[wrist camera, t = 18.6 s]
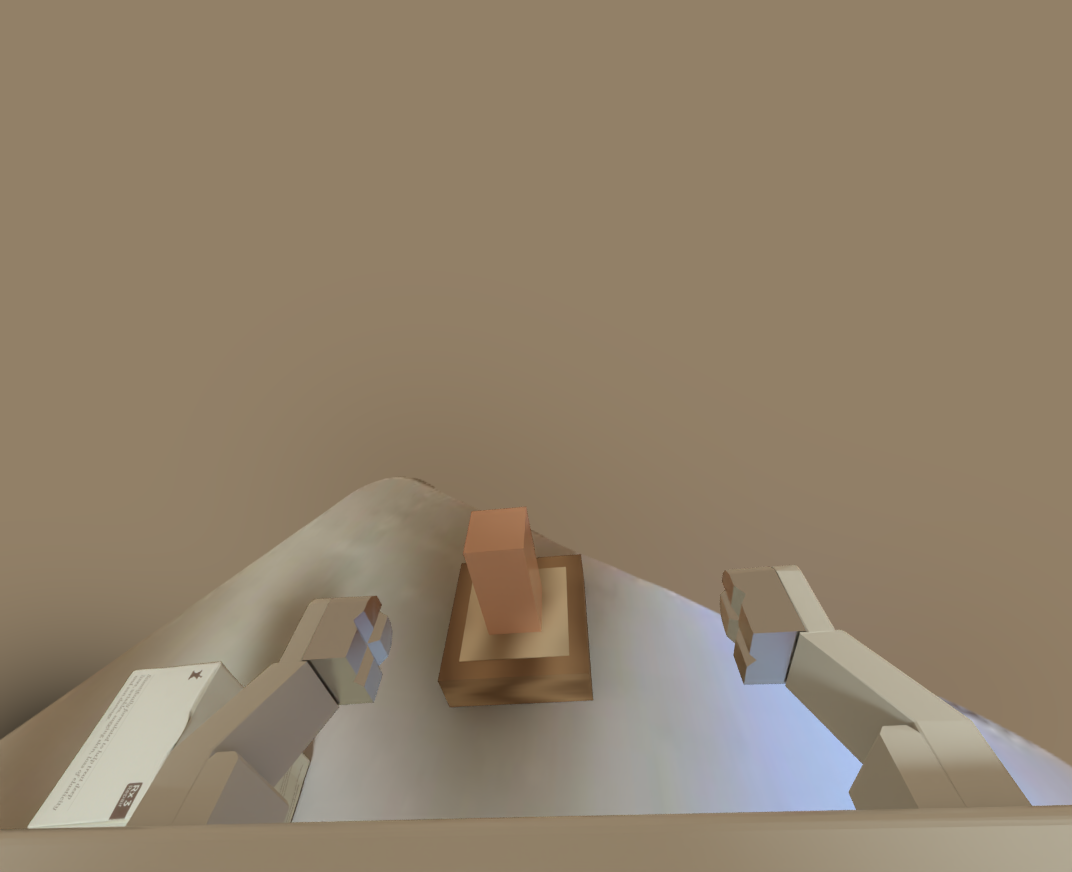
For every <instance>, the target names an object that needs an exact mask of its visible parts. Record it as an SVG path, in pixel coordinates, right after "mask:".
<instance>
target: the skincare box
mask: <svg viewBox="0 0 1072 872" xmlns="http://www.w3.org/2000/svg"><path fill="white" fill-rule="evenodd" d="M242 689H244V687H243V686H242V685H241V684H240V683H239V682H238V681H237V680H236V678H235V677H234V676H233V675H232V674H231V673H230V672H229V670H228V669H227V668H226V667H225V666H224V664H223V663H222V662H221V661H218V662H211V663H201V664H192V665H184V666H176V667H168V668H155V669H142V670H135V671H133V672H132V674H131V675H130V677H129V678H128V680H127V681H126V682H125V684H124V685H123V687H122V688H121V690H120V691H119V693H118V694H117V696H116V697H115V699H114V700H113V702H112V703H111V705H110V706H109V708H108V709H107V711H106V712H105V714H104V715H103V717H102V718H101V720H100V721H99V723H98V724H97V726H96V727H95V728H94V730H93V731H92V733H91V734H90V736H89V737H88V739H87V740H86V742H85V743H84V745H83V746H82V748H81V749H80V751H79V752H78V753H77V755H76V756H75V758H74V759H73V761H72V762H71V764H70V765H69V767H68V768H67V770H66V771H65V773H64V774H63V775H62V777H61V778H60V780H59V781H58V783H57V784H56V786H55V787H54V789H53V790H52V792H51V793H50V794H49V796H48V797H47V799H46V800H45V802H44V803H43V805H42V806H41V807H40V809H39V810H38V812H37V813H36V815H35V816H34V817H33V819H32V820H31V822H30V823H29V825H28V828H29V829H32V828H74V827H117V826H126V824H127V823H128V821H129V819H130V818H131V816H132V815H133V813H134V811H135V810H136V808H137V806H138V805H139V803H140V801H141V800H142V798H143V797H144V795H145V793H146V792H147V790H148V788H149V787H150V785H151V783H152V782H153V780H154V779H155V777H156V775H157V774H158V772H159V770H160V769H161V767H162V765H163V764H164V762H165V761H166V759H167V757H168V756H169V754H170V752H171V751H172V750H173V749H174V748H176V747H177V746H178V745H179V744H180V743H181V742H182V741H184V740H185V739H186V738H187V737H188V736H189V735H191V734H192V733H193V732H194V731H195V730H196V729H197V728H199V727H200V726H201V725H202V724H203V723H204V722H206V721H207V720H208V719H209V718H210V717H211V716H212V715H214V714H215V713H216V712H217V711H218V710H219V709H220V708H222V707H223V706H224V705H225V704H226V703H227V702H229V701H230V700H231V699H232V698H233V697H234V696H235V695H237V694H238V693H239V692H240V691H241V690H242ZM309 763H310V760H309V759H308V758H307V757H306V756H305V755H304V753H303V752H302V754H301V755H300V756H299V757H298V759H297V760H296V761H295V762H294V763H293V765H292V766H291V767H290V768H289V770H288V771H287V772H286V773H285V774H284V776H283V777H282V778H281V779H280V781H279V782H278V783H277V784H276V786H275V787H274V788H275V789H276V790H277V791H278V792H279V793H280V794H281V795H282V796H283V797H284V798H285V799H286V800H287V801H288V804H289V810H288V813H287V815H286V818H285V821H284V823H290V822H291V819H292V816H293V813H294V810H295V807H296V804H297V801H298V798H299V794H300V791H301V787H302V784H303V781H304V778H305V775H306V772H307V769H308V766H309Z"/></svg>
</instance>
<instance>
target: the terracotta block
mask: <svg viewBox="0 0 1072 872" xmlns="http://www.w3.org/2000/svg"><path fill="white" fill-rule="evenodd" d="M463 554H464V558H465V561H466V564H467V567H468V570H469V573H470V576H471V580H472V583H473V586H474V589H475V592H476V595H477V598H478V602H479V605H480V608H481V611H482V614H483V617H484V621H485V624H486V627H487V630H488V633H489V635H495V634H511V633H527V632H542V584H541V579H540V574H539V569H538V564H537V559H536V554H535V549H534V544H533V539H532V534H531V529H530V524H529V519H528V514H527V509H526V507H518V508H506V509H494V510H483V511H472V512H471V517H470V522H469V527H468V532H467V537H466V542H465V546H464V551H463Z"/></svg>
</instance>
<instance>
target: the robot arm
mask: <svg viewBox="0 0 1072 872" xmlns="http://www.w3.org/2000/svg"><path fill="white" fill-rule="evenodd" d="M722 582H723V585H724V588H725V590H724V591H723V592H722V593H721V594H720V611H721V618H722V622H723V626H724V629H725V632H726V635H727V637H728V638H729V639H731V640H732V641H733V642H734V643H735V648H734V658H735V661H736V664H737V667H738V669H739V672H740V675H741V678H742V681H743V683H744V685H752V684H786V685H785V686H786V687H787V688H788V689H789V690H790V691H791V692H792V693H793V694H794V695H795V696H796V697H797V698H798V699H799V700H800V701H801V702H802V703H803V704H804V705H805V706H806V707H807V708H808V709H809V710H810V711H811V712H812V713H813V714H814V715H815V716H816V717H817V718H818V719H819V720H820V721H821V722H822V723H823V724H824V725H825V726H826V727H827V728H828V729H829V730H830V732H831V733H832V734H833V735H834V736H835V737H836V738H837V739H838V740H839V741H840V742H841V743H842V744H843V745H844V746H845V747H846V748H847V749H848V750H849V751H850V752H851V753H852V754H853V755H854V756H855V757H856V758H857V759H858V760H859V761H860V762H861V763H862V764H863V765H862V767H861V769H860V771H859V773H858V775H857V777H856V779H855V780H854V782H853V784H852V786H851V788H850V790H849V794H850V797H851V799H852V801H853V804H854V806H855V808H856V810H828V811H783V812H738V813H693V814H648V815H603V816H558V817H513V818H468V819H424V820H380V821H336V822H292V823H284V821H285V818H286V815H287V813H288V810H289V804H288V801H287V800H286V799H285V798H284V797H283V796H282V795H281V794H280V793H279V792H278V791H277V790H276V789H275V788H274V787H275V786H276V784H277V783H278V782H279V781H280V779H281V778H282V777H283V776H284V774H285V773H286V772H287V771H288V770H289V768H290V767H291V766H292V765H293V763H294V762H295V761H296V760H297V759H298V757H299V756H300V755H301V754H302V752H303V751H304V750H305V749H306V747H307V746H308V745H309V744H310V743H311V741H312V740H313V739H314V738H315V736H316V735H317V734H318V733H319V732H320V730H321V729H322V728H323V727H324V725H325V724H326V723H327V722H328V720H329V719H330V718H331V717H332V716H333V714H334V713H335V712H336V711H337V709H338V708H339V706H338V705H348V704H361V703H374V700H375V697H376V694H377V690H378V687H379V684H380V681H381V678H382V672H381V669H380V667H379V665H380V664H381V663H382V662H383V661H384V660H385V659H386V658H387V657H388V655H389V651H390V648H391V644H392V627H391V622H390V620H389V618H388V616H386V615H385V614H383V613H381V612H380V609H381V606H382V604H381V602H380V601H379V599H378V597H377V596H364V597H341V598H323V599H314V600H313V601H312V602H311V603H310V604H309V605H308V606H307V608H306V610H305V612H304V614H303V616H302V618H301V620H300V622H299V624H298V626H297V628H296V630H295V632H294V634H293V636H292V638H291V640H290V642H289V643H288V645H287V647H286V649H285V651H284V653H283V655H282V657H281V659H280V661H279V663H272V664H271V665H270V666H269V667H268V668H267V669H265V670H264V671H263V672H262V673H261V674H260V675H258V676H257V677H256V678H255V679H254V680H253V681H252V682H250V683H249V684H248V685H247V686H246V687H245V688H244V689H242V690H241V691H240V692H239V693H238V694H237V695H235V696H234V697H233V698H232V699H231V700H230V701H229V702H227V703H226V704H225V705H224V706H223V707H222V708H220V709H219V710H218V711H217V712H216V713H215V714H214V715H212V716H211V717H210V718H209V719H208V720H207V721H206V722H204V723H203V724H202V725H201V726H200V727H199V728H197V729H196V730H195V731H194V732H193V733H192V734H191V735H189V736H188V737H187V738H186V739H185V740H184V741H182V742H181V743H180V744H179V745H178V746H177V747H176V748H174V749H173V750H172V751H171V752H170V754H169V756H168V757H167V759H166V761H165V762H164V764H163V765H162V767H161V769H160V770H159V772H158V774H157V775H156V777H155V779H154V780H153V782H152V783H151V785H150V787H149V788H148V790H147V792H146V793H145V795H144V797H143V798H142V800H141V801H140V803H139V805H138V806H137V808H136V810H135V811H134V813H133V815H132V816H131V818H130V819H129V821H128V823H127V824H126V826H117V827H74V828H32V829H0V872H1072V805H1053V806H1032V805H1031V804H1030V802H1029V801H1028V799H1027V798H1026V797H1025V795H1024V794H1023V792H1022V791H1021V790H1020V788H1019V787H1018V785H1017V784H1016V783H1015V781H1014V780H1013V778H1012V777H1011V776H1010V774H1009V773H1008V771H1007V770H1006V768H1005V767H1004V766H1003V764H1002V763H1001V761H1000V760H999V759H998V757H997V756H996V754H995V753H994V752H993V750H992V749H991V747H990V746H989V744H988V743H987V742H986V740H985V739H984V737H983V736H982V735H981V733H980V732H979V730H978V729H977V728H976V726H975V725H974V723H973V722H972V721H971V720H970V719H968V718H967V717H965V716H964V715H963V714H961V713H960V712H958V711H957V710H956V709H954V708H953V707H951V706H950V705H948V704H947V703H946V702H944V701H943V700H941V699H940V698H939V697H937V696H936V695H934V694H933V693H931V692H930V691H929V690H927V689H926V688H924V687H923V686H921V685H920V684H919V683H917V682H916V681H914V680H913V679H911V678H910V677H909V676H907V675H906V674H904V673H903V672H902V671H900V670H899V669H897V668H896V667H894V666H893V665H891V664H890V663H889V662H887V661H886V660H884V659H883V658H882V657H880V656H879V655H877V654H876V653H874V652H873V651H872V650H870V649H868V647H866V646H865V645H863V644H862V643H860V642H859V641H858V640H856V639H855V638H853V637H852V636H851V635H849V634H848V633H846V632H845V631H843V630H835V629H834V627H833V625H832V624H831V622H830V620H829V618H828V617H827V615H826V613H825V612H824V610H823V608H822V606H821V605H820V603H819V601H818V600H817V598H816V596H815V594H814V592H813V591H812V589H811V587H810V585H809V584H808V582H807V580H806V579H805V577H804V575H803V573H802V572H801V570H800V569H799V568H798V567H797V566H796V565H788V566H775V567H769V566H768V567H756V568H745V569H732V570H725V571H724V573H723V577H722Z"/></svg>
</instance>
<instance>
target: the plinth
mask: <svg viewBox="0 0 1072 872" xmlns="http://www.w3.org/2000/svg"><path fill="white" fill-rule="evenodd" d="M536 559H537V564H538V569H539V574H540V579H541V584H542V632H527V633H511V634H495V635H489V633H488V630H487V627H486V624H485V621H484V617H483V614H482V611H481V608H480V605H479V602H478V598H477V595H476V592H475V589H474V586H473V583H472V580H471V576H470V573H469V570H468V567H467V564H466V563H462V564H461V569H460V574H459V579H458V584H457V589H456V594H455V599H454V604H453V609H452V614H451V619H450V624H449V629H448V633H447V638H446V643H445V648H444V653H443V658H442V663H441V668H440V673H439V678H438V682H439V684H440V687H441V689H442V691H443V693H444V695H445V697H446V700H447V702H448V704H449V706H450V707H460V706H481V705H502V704H523V703H545V702H566V701H587V700H593V693H592V680H591V666H590V653H589V640H588V627H587V613H586V600H585V587H584V577H583V569H582V560H581V554H579V555H566V556H553V557H540V558H536Z"/></svg>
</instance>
